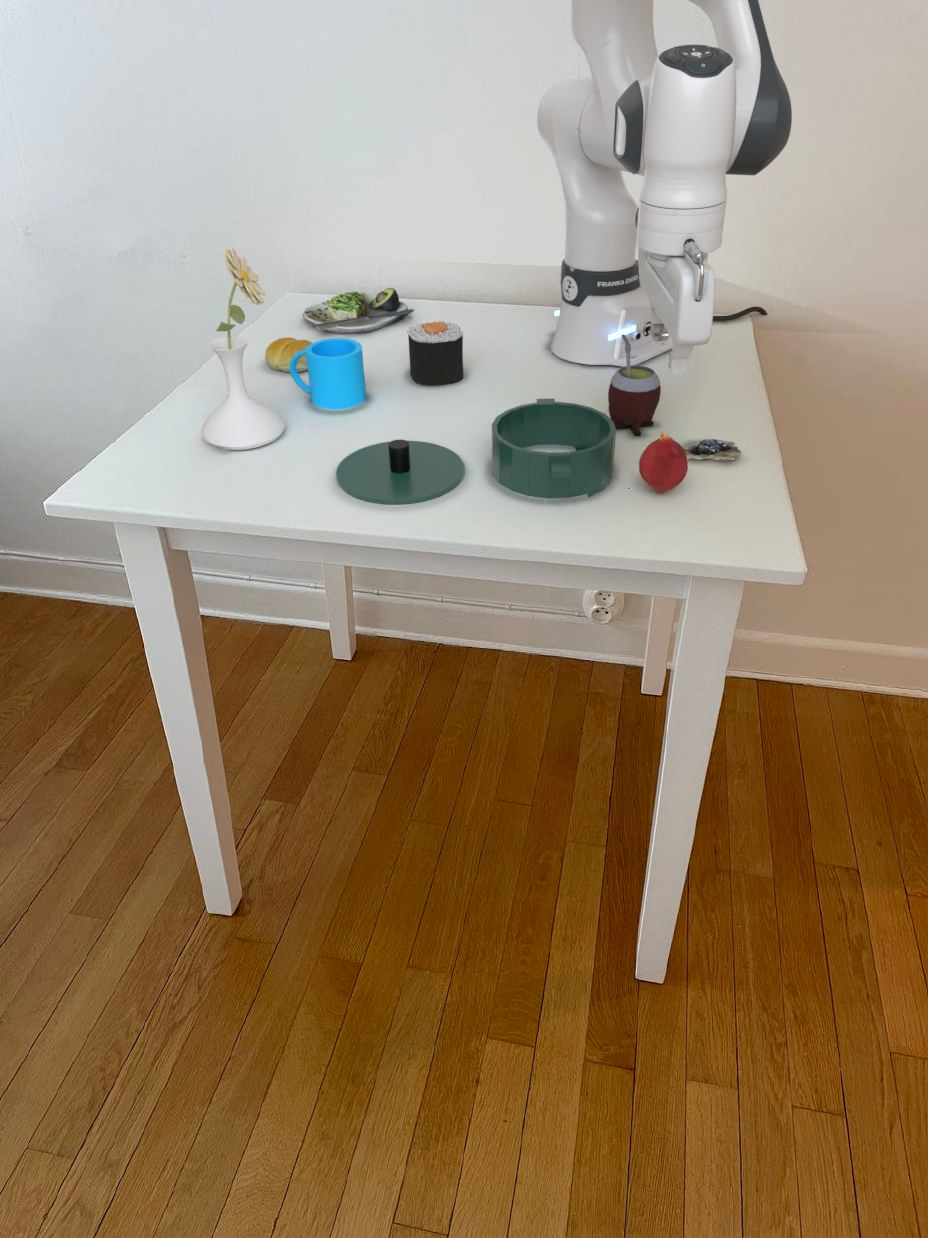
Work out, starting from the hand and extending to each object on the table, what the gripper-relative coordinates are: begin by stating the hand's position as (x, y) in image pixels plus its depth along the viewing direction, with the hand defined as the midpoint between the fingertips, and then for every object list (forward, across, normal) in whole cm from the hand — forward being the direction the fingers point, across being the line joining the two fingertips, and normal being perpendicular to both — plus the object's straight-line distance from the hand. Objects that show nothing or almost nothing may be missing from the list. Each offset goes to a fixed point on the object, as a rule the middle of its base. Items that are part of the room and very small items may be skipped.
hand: (668, 354), depth 108 cm
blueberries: (+18, +9, -9) cm, 22 cm away
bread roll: (+17, +46, +49) cm, 70 cm away
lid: (+16, +6, +32) cm, 36 cm away
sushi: (+18, +39, +26) cm, 50 cm away
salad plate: (+18, +67, +40) cm, 80 cm away
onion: (+18, -1, 0) cm, 18 cm away
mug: (+17, +32, +43) cm, 56 cm away
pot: (+17, +6, +12) cm, 22 cm away
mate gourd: (+18, +18, 0) cm, 25 cm away
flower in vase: (+17, +20, +53) cm, 59 cm away
